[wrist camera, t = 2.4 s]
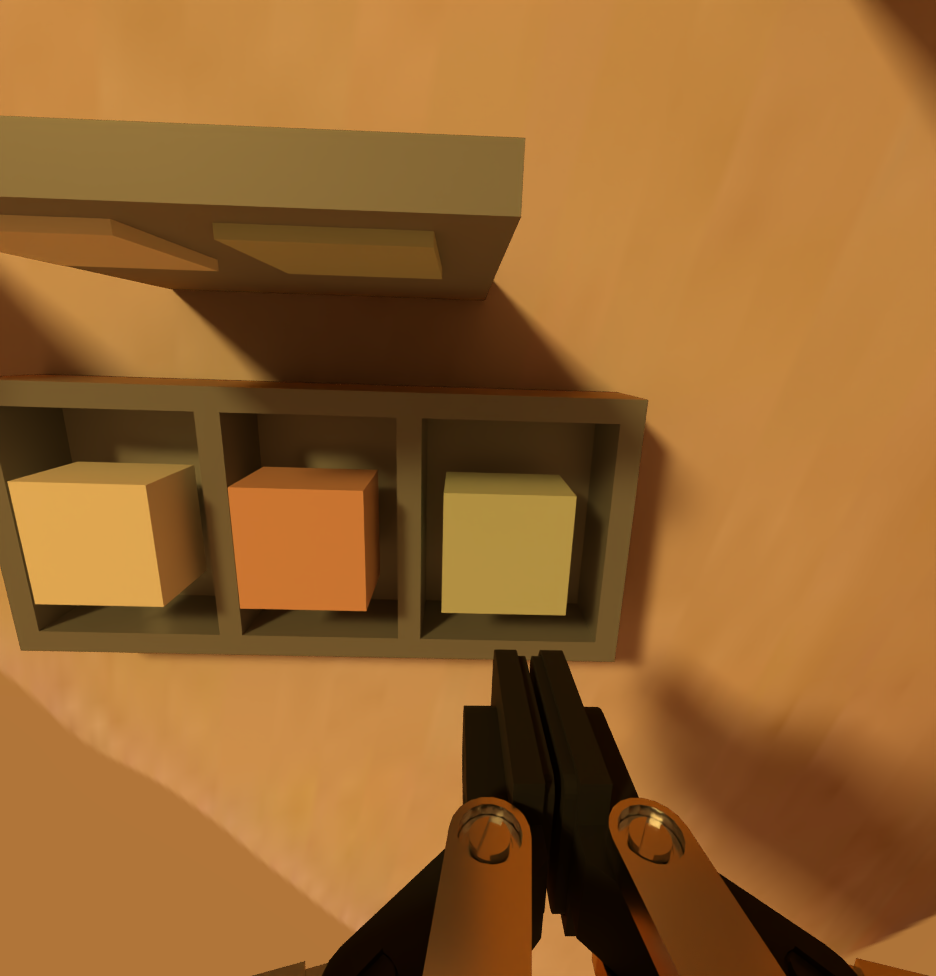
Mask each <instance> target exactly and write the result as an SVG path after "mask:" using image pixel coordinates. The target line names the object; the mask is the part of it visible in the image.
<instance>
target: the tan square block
mask: <svg viewBox="0 0 936 976" xmlns="http://www.w3.org/2000/svg"><path fill="white" fill-rule="evenodd" d="M7 482H8V487H9V491H10V495H11V500H12V504H13V509H14V513H15V517H16V522H17V526H18V530H19V535H20V539H21V544H22V548H23V552H24V557H25V561H26V566H27V570H28V574H29V579H30V583H31V587H32V592H33V596H34V601H35V604H52V605H100V606H147V607H164V606H165V605H167V604H168V603H169V602H170V601H171V600H172V599H174V598H175V597H176V596H177V595H178V594H179V593H181V592H182V591H183V590H184V589H185V588H186V587H188V586H189V585H190V584H191V583H192V582H194V581H195V580H196V579H197V578H198V577H199V576H201V575H202V574H203V573H204V572H205V571H206V570H207V566H206V558H205V550H204V542H203V533H202V525H201V517H200V509H199V500H198V492H197V484H196V476H195V467H194V465H184V464H147V463H111V462H74V463H71V464H67V465H64V466H60V467H57V468H53V469H50V470H46V471H43V472H39V473H36V474H32V475H28V476H25V477H21V478H18V479H14V480H11V481H7Z"/></svg>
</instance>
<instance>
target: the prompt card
mask: <svg viewBox="0 0 936 976" xmlns="http://www.w3.org/2000/svg"><path fill="white" fill-rule="evenodd" d="M524 153H525V138H518V137H494V136H471V135H447V134H423V133H399V132H376V131H352V130H328V129H305V128H281V127H257V126H234V125H210V124H186V123H162V122H139V121H115V120H91V119H68V118H44V117H20V116H0V252H2V253H7V254H11V255H16V256H21V257H25V258H30V259H34V260H39V261H43V262H48V263H52V264H57V265H62V266H68V267H73V268H77V269H82V270H86V271H91V272H95V273H100V274H104V275H109V276H113V277H118V278H122V279H127V280H132V281H136V282H141V283H145V284H150V285H154V286H159V287H163V288H168V289H177V290H206V291H235V292H263V293H292V294H320V295H349V296H377V297H406V298H435V299H463V300H485V298H486V295H487V293H488V291H489V289H490V286H491V284H492V282H493V279H494V277H495V275H496V273H497V270H498V268H499V266H500V264H501V261H502V259H503V257H504V254H505V252H506V250H507V248H508V245H509V243H510V241H511V238H512V236H513V234H514V232H515V229H516V227H517V225H518V222H519V220H520V218H521V208H522V189H523V171H524Z"/></svg>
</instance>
